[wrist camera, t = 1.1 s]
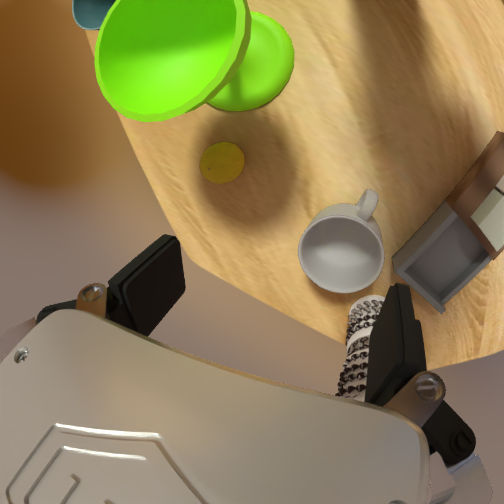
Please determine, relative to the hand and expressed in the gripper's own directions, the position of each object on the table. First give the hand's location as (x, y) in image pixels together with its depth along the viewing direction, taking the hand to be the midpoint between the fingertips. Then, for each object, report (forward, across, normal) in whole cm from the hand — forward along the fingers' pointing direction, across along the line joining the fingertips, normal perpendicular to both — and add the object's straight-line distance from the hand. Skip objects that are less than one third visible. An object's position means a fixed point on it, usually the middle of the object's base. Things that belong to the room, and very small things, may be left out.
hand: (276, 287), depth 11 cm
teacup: (+28, -4, +9) cm, 30 cm away
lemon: (+28, +14, +2) cm, 31 cm away
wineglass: (+28, +14, -13) cm, 34 cm away
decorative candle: (+28, -12, +24) cm, 39 cm away
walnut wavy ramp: (+28, -26, -1) cm, 38 cm away
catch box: (+28, -20, +10) cm, 36 cm away
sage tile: (+25, -24, +1) cm, 35 cm away
